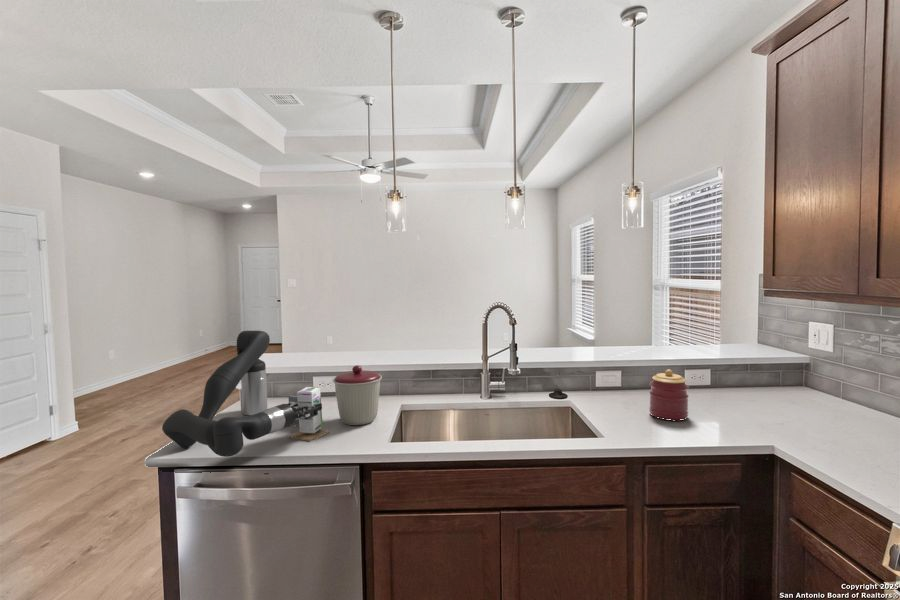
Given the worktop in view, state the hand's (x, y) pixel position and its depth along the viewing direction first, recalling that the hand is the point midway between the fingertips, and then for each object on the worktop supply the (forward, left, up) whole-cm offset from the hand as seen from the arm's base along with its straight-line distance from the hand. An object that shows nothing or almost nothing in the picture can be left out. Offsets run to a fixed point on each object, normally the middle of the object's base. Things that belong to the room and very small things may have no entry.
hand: (313, 405), depth 151 cm
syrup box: (0, -1, -9) cm, 9 cm away
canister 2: (+112, +65, -10) cm, 130 cm away
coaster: (0, -2, -10) cm, 10 cm away
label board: (-10, +4, -10) cm, 15 cm away
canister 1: (+7, +16, -10) cm, 20 cm away
